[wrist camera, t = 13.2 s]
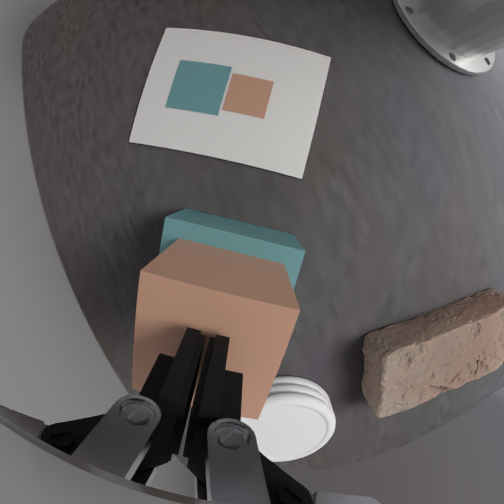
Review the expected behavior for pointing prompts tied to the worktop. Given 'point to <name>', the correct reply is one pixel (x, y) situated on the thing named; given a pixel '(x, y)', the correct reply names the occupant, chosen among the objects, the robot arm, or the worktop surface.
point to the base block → (234, 238)
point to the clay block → (216, 313)
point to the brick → (433, 353)
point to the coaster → (293, 419)
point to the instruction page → (232, 99)
